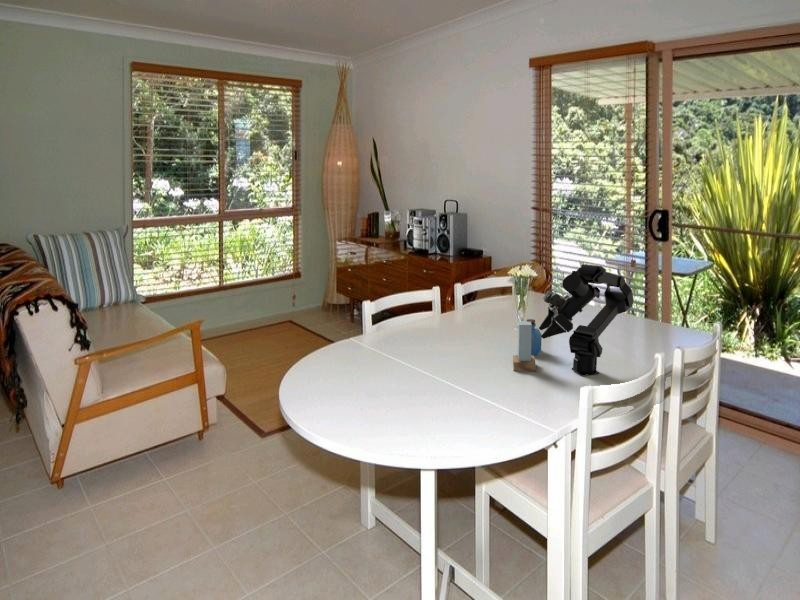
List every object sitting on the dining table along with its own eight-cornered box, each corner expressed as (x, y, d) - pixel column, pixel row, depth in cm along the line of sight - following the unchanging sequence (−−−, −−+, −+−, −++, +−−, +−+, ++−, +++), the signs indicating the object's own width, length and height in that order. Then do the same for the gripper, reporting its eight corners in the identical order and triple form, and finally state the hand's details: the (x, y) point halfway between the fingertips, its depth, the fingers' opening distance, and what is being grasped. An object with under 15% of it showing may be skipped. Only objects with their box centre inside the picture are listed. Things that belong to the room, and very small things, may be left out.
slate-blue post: (530, 357, 191) (530, 321, 188) (530, 361, 187) (531, 325, 184) (518, 356, 191) (518, 321, 188) (518, 360, 187) (519, 324, 185)
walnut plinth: (533, 363, 193) (533, 355, 192) (535, 371, 186) (535, 362, 185) (512, 363, 194) (513, 355, 193) (513, 370, 187) (513, 362, 186)
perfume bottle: (541, 350, 206) (542, 319, 203) (535, 355, 201) (536, 323, 198) (524, 348, 209) (525, 317, 206) (518, 353, 204) (519, 321, 201)
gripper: (556, 276, 185) (521, 308, 190) (563, 288, 167) (524, 324, 172) (580, 300, 186) (545, 331, 190) (589, 314, 168) (550, 349, 172)
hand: (540, 333), depth 181 cm, fingers open, 9 cm apart
